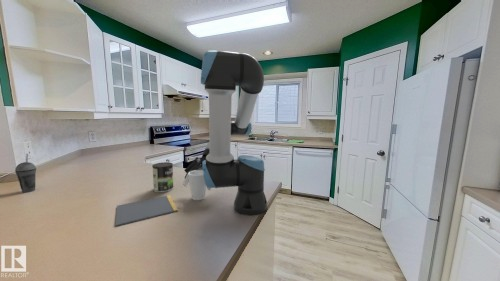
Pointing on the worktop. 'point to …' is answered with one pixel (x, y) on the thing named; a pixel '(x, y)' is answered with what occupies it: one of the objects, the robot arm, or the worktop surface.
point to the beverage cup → (26, 176)
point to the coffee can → (163, 177)
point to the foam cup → (197, 184)
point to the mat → (144, 210)
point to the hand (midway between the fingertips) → (196, 187)
